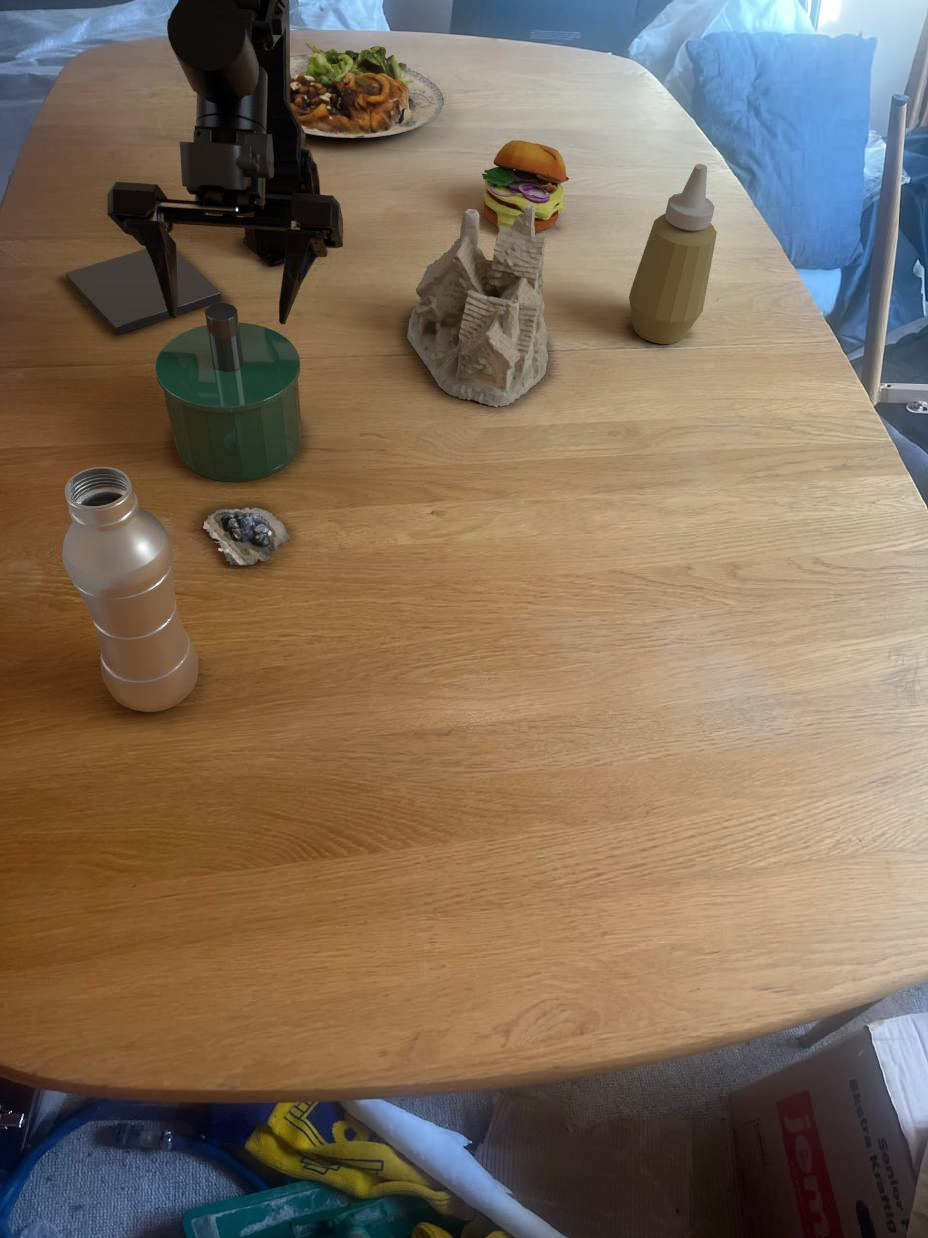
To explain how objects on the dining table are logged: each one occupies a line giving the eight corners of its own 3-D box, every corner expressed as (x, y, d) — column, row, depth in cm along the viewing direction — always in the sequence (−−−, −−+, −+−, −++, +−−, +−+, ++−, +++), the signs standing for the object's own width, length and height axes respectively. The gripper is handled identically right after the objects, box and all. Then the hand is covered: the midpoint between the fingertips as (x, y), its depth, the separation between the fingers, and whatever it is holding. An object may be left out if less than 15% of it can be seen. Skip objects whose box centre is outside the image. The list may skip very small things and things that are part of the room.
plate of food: (360, 54, 148) (360, 9, 143) (483, 121, 136) (487, 75, 131) (204, 96, 135) (198, 48, 130) (325, 174, 123) (323, 125, 118)
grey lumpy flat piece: (253, 581, 78) (251, 565, 77) (179, 539, 81) (175, 523, 79) (305, 533, 82) (304, 517, 81) (232, 495, 85) (230, 479, 83)
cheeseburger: (464, 226, 117) (477, 137, 111) (493, 210, 125) (506, 126, 119) (543, 246, 115) (560, 156, 109) (567, 228, 123) (584, 144, 117)
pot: (188, 398, 93) (174, 326, 86) (307, 405, 93) (302, 333, 87) (165, 479, 85) (148, 406, 79) (294, 485, 86) (288, 413, 80)
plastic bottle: (116, 653, 73) (47, 450, 57) (207, 651, 73) (163, 450, 58) (103, 725, 69) (25, 527, 53) (200, 722, 69) (150, 525, 54)
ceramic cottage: (436, 291, 107) (444, 161, 95) (571, 342, 104) (597, 214, 91) (366, 371, 98) (365, 239, 86) (510, 429, 95) (531, 301, 83)
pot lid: (171, 329, 87) (160, 266, 82) (307, 337, 88) (303, 275, 83) (144, 414, 79) (129, 351, 75) (293, 422, 80) (287, 359, 75)
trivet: (168, 250, 109) (167, 242, 108) (221, 300, 103) (220, 292, 103) (67, 280, 104) (64, 272, 103) (117, 335, 98) (115, 327, 97)
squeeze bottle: (703, 322, 107) (752, 161, 93) (683, 360, 102) (731, 195, 88) (635, 301, 109) (673, 139, 95) (612, 337, 104) (648, 172, 90)
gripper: (85, 75, 72) (83, 290, 73) (336, 93, 73) (329, 304, 74) (128, 136, 83) (126, 322, 84) (346, 151, 84) (340, 333, 85)
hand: (227, 320), depth 82 cm, fingers open, 9 cm apart
